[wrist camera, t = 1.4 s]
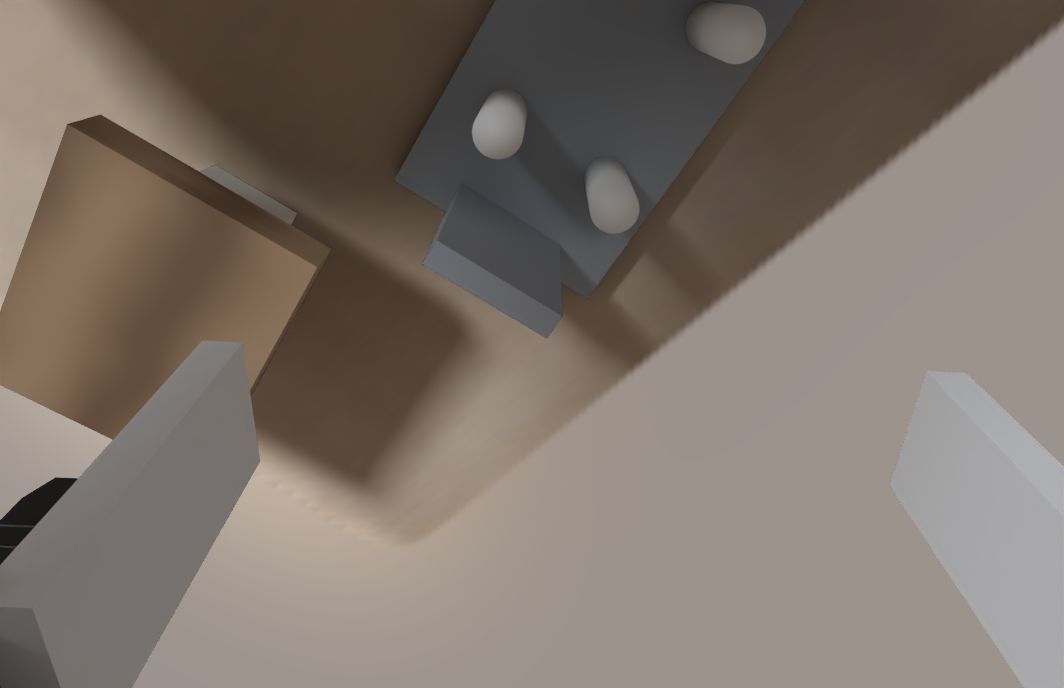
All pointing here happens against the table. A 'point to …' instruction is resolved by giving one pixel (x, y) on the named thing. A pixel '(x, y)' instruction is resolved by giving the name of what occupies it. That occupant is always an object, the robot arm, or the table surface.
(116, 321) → the board
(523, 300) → the cradle
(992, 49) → the table surface
